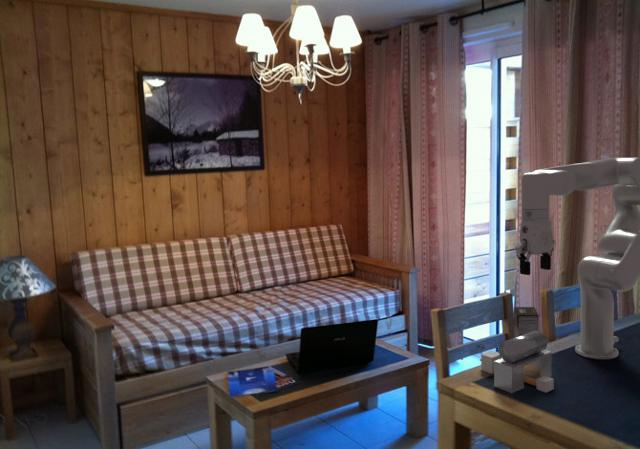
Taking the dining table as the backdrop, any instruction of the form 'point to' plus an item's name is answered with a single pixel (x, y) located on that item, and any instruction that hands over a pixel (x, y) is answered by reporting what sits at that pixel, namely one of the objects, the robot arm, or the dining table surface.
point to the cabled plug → (541, 383)
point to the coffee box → (525, 320)
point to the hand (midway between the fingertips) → (535, 271)
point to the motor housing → (521, 361)
